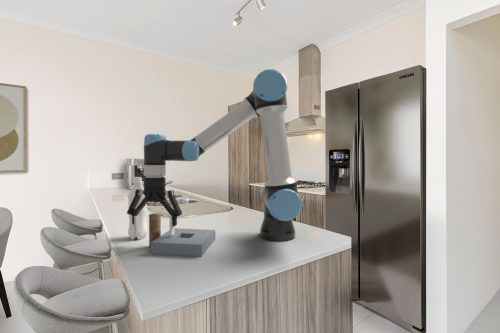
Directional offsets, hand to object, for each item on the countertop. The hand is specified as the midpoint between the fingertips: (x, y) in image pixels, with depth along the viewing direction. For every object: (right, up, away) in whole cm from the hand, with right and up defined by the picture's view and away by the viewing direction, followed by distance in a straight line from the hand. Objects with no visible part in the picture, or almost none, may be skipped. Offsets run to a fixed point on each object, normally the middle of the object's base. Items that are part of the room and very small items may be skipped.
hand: (154, 234), depth 93 cm
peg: (0, -5, 0) cm, 5 cm away
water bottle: (-11, -5, +10) cm, 16 cm away
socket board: (+11, -5, +1) cm, 12 cm away
